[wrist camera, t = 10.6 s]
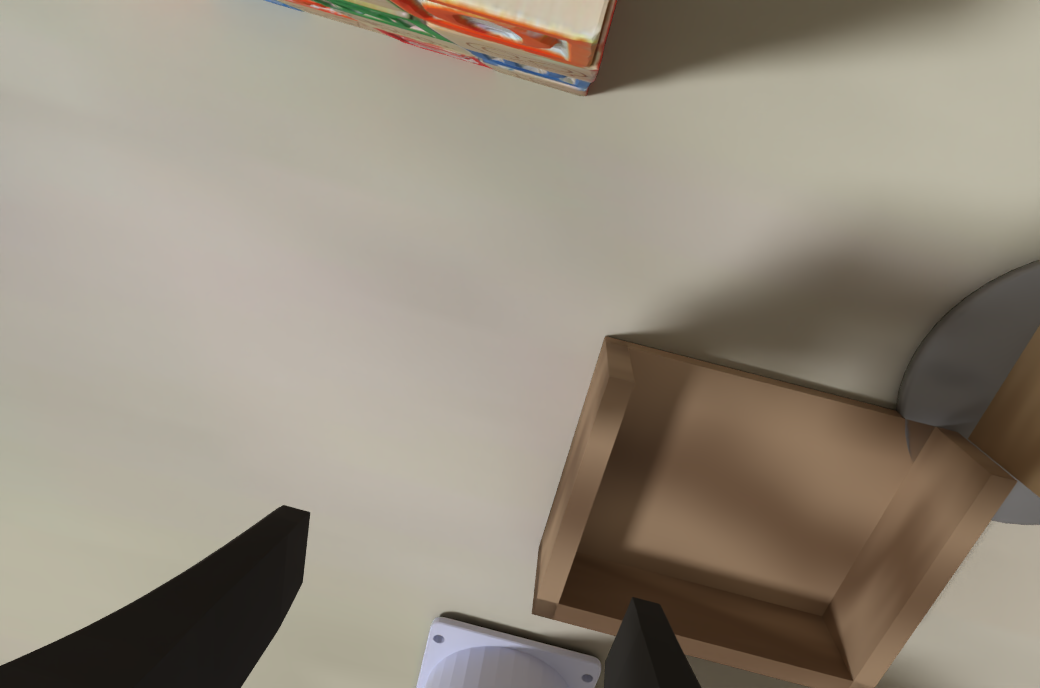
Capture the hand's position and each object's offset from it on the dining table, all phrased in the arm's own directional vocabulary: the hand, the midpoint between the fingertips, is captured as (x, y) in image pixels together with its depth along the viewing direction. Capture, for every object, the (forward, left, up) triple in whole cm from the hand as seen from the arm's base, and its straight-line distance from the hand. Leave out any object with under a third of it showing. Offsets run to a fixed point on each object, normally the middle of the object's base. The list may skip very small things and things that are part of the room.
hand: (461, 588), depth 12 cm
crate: (-2, -9, -10) cm, 14 cm away
